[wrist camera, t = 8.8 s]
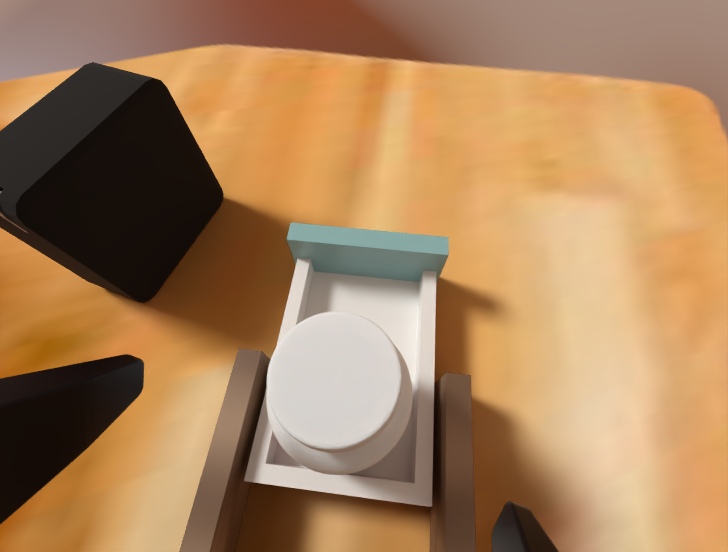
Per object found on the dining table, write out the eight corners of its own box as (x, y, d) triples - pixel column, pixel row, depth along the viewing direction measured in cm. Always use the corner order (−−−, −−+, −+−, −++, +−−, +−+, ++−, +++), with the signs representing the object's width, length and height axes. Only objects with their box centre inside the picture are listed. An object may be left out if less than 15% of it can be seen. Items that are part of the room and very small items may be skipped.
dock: (456, 770, 13) (485, 871, 10) (166, 717, 14) (107, 797, 11) (453, 387, 20) (470, 375, 17) (258, 364, 21) (238, 348, 17)
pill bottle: (389, 477, 17) (415, 504, 8) (286, 455, 17) (208, 459, 9) (403, 370, 19) (434, 303, 11) (312, 353, 20) (271, 276, 11)
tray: (429, 501, 17) (448, 515, 13) (252, 476, 18) (221, 483, 14) (434, 273, 23) (448, 237, 19) (303, 260, 24) (290, 222, 20)
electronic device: (227, 197, 27) (159, 71, 18) (147, 307, 22) (4, 212, 13) (182, 183, 27) (95, 54, 19) (96, 287, 23) (-71, 184, 14)
